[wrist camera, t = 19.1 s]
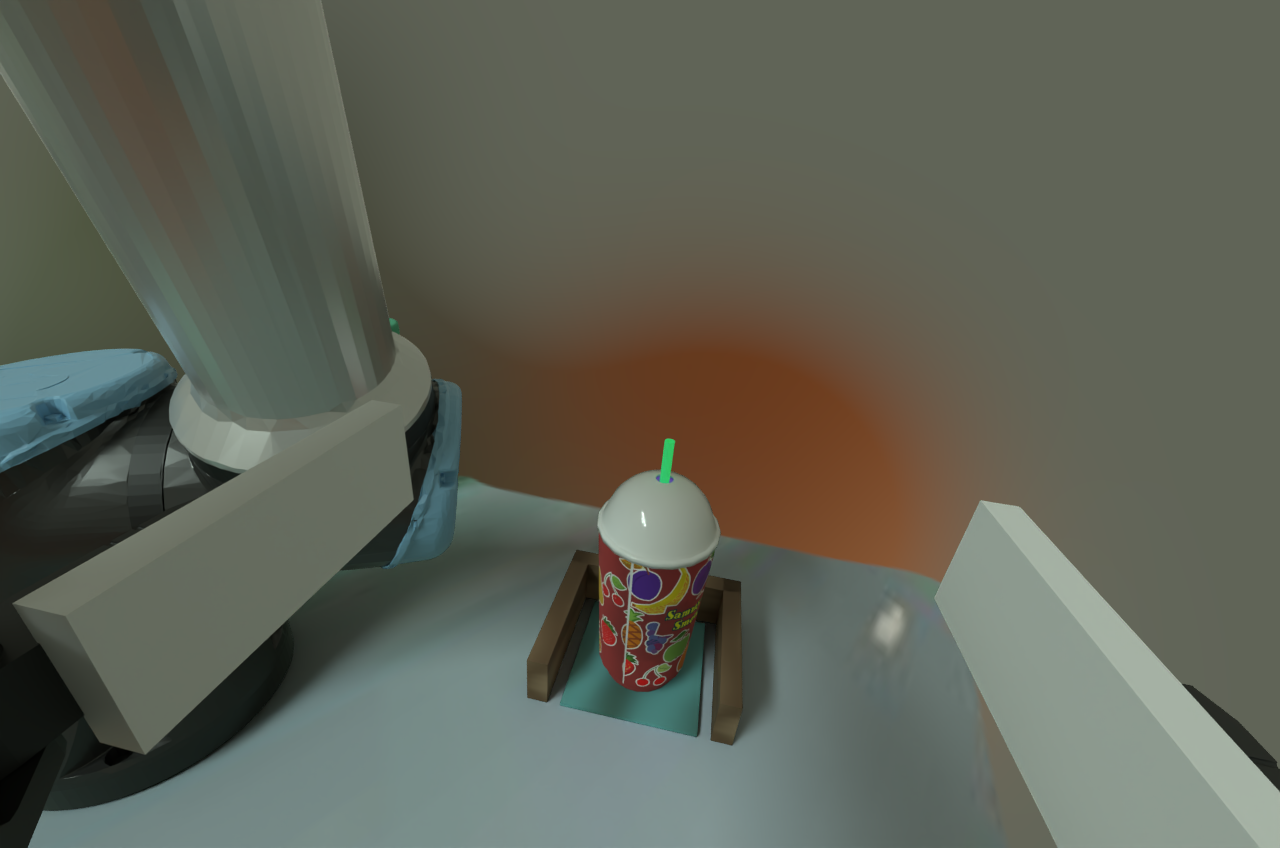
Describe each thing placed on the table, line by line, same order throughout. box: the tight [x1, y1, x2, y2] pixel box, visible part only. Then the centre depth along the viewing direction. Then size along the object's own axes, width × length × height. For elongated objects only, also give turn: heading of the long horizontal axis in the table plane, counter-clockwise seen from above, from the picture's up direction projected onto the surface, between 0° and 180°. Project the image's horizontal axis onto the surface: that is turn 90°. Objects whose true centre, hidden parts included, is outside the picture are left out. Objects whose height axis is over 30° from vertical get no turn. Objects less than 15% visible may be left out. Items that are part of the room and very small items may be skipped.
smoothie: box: [597, 439, 721, 692], centre depth 35 cm, size 8×8×20 cm
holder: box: [527, 550, 743, 745], centre depth 40 cm, size 15×12×4 cm
